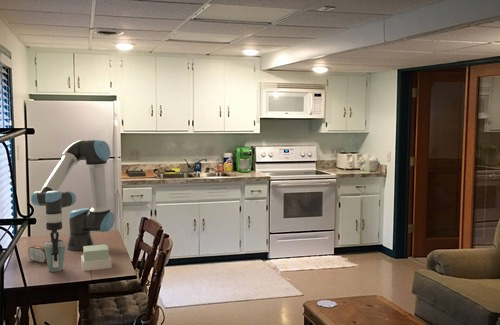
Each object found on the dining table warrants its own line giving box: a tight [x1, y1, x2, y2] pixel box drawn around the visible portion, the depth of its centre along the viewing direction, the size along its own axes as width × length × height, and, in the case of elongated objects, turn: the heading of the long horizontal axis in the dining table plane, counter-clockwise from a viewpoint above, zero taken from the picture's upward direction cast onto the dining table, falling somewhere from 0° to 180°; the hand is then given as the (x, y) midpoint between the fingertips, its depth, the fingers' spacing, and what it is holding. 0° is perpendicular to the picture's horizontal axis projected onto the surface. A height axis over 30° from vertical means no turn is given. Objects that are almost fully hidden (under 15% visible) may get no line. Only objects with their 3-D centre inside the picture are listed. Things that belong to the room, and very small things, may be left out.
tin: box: [27, 244, 47, 264], centre depth 278 cm, size 15×3×8 cm, turn 59°
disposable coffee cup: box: [43, 239, 67, 273], centre depth 262 cm, size 11×11×15 cm
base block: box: [80, 254, 112, 272], centre depth 270 cm, size 14×14×5 cm
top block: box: [82, 244, 110, 261], centre depth 270 cm, size 12×12×5 cm
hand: (55, 264), depth 263 cm, fingers closed on disposable coffee cup, 11 cm apart
